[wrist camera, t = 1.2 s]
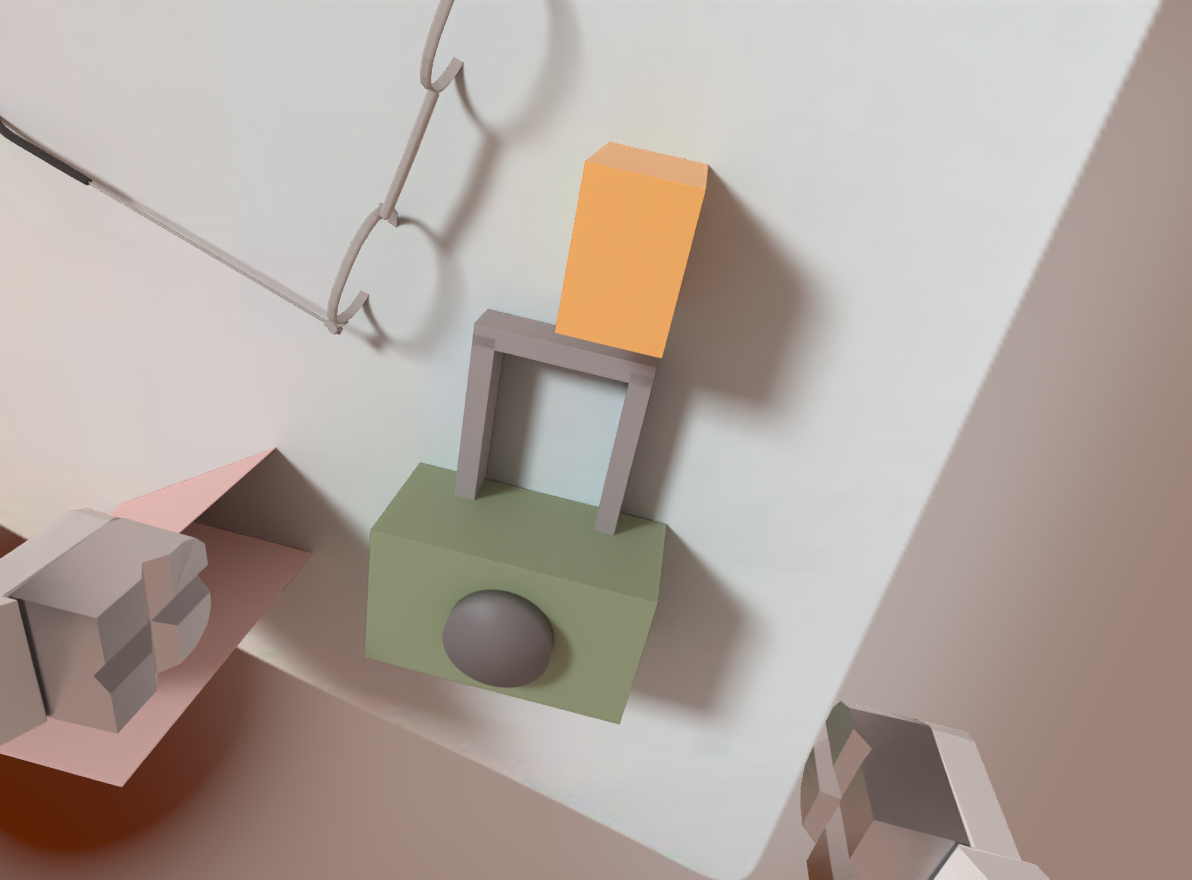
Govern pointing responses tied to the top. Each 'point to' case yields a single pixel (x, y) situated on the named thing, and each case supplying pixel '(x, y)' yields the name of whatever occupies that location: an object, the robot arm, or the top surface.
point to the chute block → (630, 247)
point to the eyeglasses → (382, 212)
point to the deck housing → (520, 553)
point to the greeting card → (238, 599)
